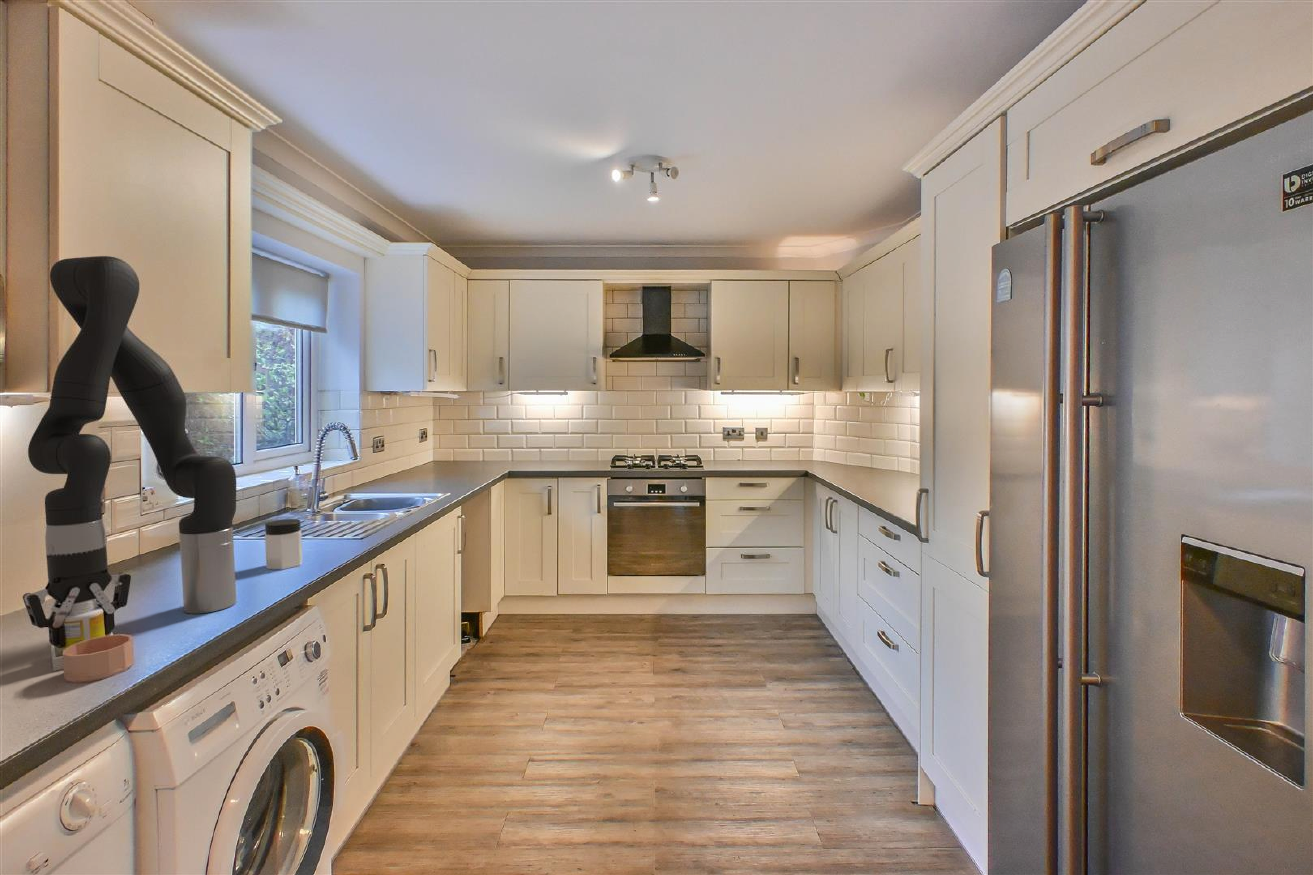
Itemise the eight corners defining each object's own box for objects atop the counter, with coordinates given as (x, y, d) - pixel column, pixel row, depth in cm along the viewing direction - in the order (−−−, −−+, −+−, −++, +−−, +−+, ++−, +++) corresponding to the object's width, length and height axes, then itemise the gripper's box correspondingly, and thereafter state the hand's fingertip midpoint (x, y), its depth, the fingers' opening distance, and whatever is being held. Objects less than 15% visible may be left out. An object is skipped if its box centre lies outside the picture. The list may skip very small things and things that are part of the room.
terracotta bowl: (88, 661, 102) (86, 636, 101) (145, 656, 104) (143, 632, 103) (50, 685, 93) (48, 658, 93) (113, 679, 95) (111, 652, 95)
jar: (295, 559, 165) (293, 517, 164) (309, 563, 161) (307, 521, 160) (259, 566, 158) (257, 523, 157) (273, 571, 153) (271, 527, 152)
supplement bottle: (104, 646, 108) (100, 592, 107) (108, 655, 104) (104, 599, 103) (61, 656, 104) (57, 600, 103) (64, 666, 100) (59, 608, 99)
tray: (51, 656, 104) (50, 645, 103) (112, 642, 109) (112, 631, 109) (53, 671, 98) (52, 659, 98) (117, 655, 104) (117, 644, 104)
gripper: (118, 535, 110) (124, 622, 112) (9, 554, 98) (17, 651, 99) (138, 540, 107) (143, 629, 108) (28, 559, 94) (36, 660, 96)
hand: (83, 639), depth 104 cm, fingers closed on supplement bottle, 5 cm apart
